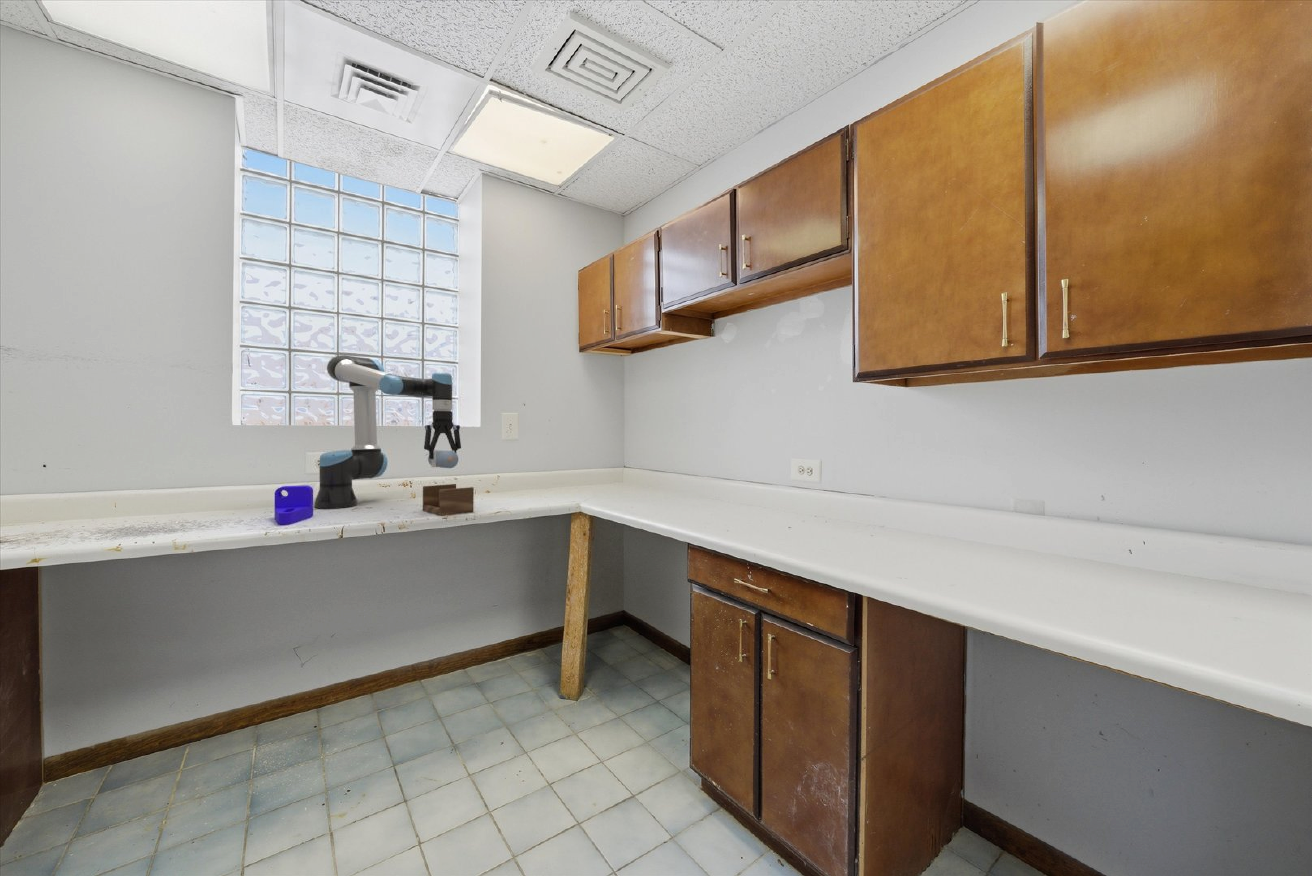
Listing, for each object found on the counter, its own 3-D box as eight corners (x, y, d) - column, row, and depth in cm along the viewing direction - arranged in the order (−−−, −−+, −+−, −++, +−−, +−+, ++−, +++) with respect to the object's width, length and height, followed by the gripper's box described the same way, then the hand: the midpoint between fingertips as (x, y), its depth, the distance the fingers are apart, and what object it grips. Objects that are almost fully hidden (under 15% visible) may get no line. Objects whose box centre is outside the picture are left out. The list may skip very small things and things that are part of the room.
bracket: (277, 517, 183) (277, 486, 182) (313, 516, 187) (313, 485, 187) (264, 526, 166) (264, 492, 166) (303, 524, 171) (303, 490, 171)
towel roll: (428, 467, 203) (428, 450, 203) (444, 466, 209) (444, 450, 209) (441, 468, 195) (441, 450, 195) (458, 467, 201) (458, 450, 201)
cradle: (422, 510, 201) (422, 486, 201) (454, 507, 211) (454, 483, 211) (440, 516, 190) (440, 490, 190) (473, 511, 200) (473, 487, 200)
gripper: (421, 409, 192) (422, 468, 192) (470, 411, 207) (470, 465, 207) (413, 410, 197) (414, 467, 197) (461, 411, 212) (462, 465, 212)
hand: (443, 466), depth 202 cm, fingers closed on towel roll, 7 cm apart
